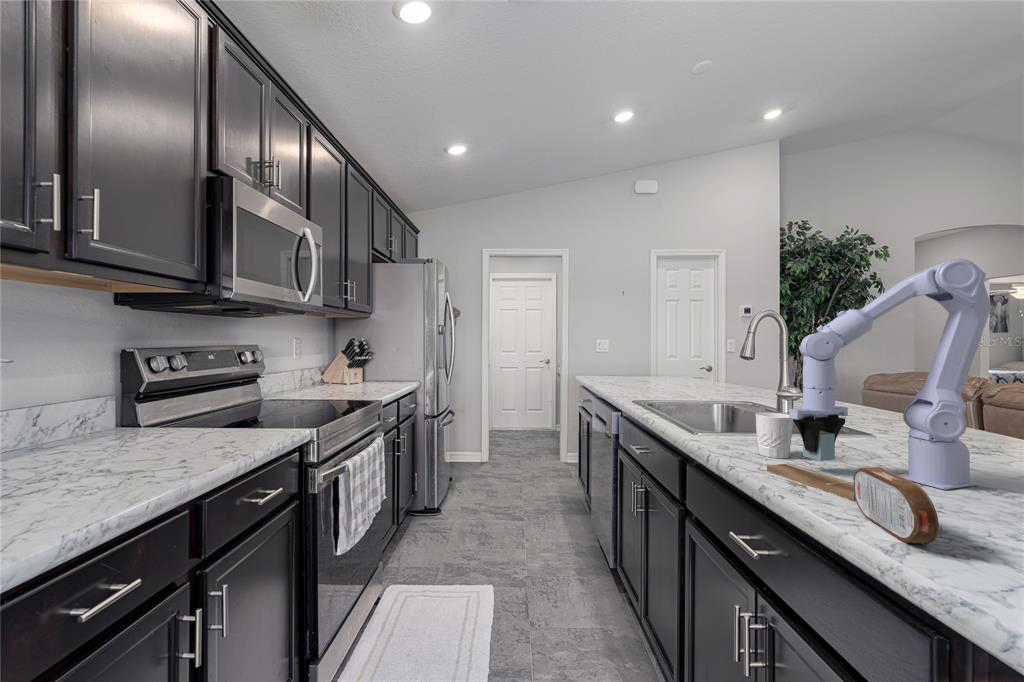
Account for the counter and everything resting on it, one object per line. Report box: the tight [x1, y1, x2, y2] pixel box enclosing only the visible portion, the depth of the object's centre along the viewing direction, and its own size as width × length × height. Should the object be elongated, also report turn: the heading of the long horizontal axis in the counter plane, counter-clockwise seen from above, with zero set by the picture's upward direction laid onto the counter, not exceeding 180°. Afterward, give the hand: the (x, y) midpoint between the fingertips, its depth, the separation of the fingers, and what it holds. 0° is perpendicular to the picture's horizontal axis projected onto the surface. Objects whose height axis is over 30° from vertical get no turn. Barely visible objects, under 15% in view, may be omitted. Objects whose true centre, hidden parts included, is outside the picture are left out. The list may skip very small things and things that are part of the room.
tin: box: [852, 466, 940, 545], centre depth 64 cm, size 15×3×8 cm, turn 168°
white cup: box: [755, 412, 794, 459], centre depth 106 cm, size 8×8×10 cm
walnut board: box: [766, 463, 856, 502], centre depth 85 cm, size 6×18×1 cm, turn 16°
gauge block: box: [802, 431, 836, 462], centre depth 93 cm, size 4×4×6 cm
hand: (818, 450), depth 93 cm, fingers closed on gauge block, 4 cm apart
